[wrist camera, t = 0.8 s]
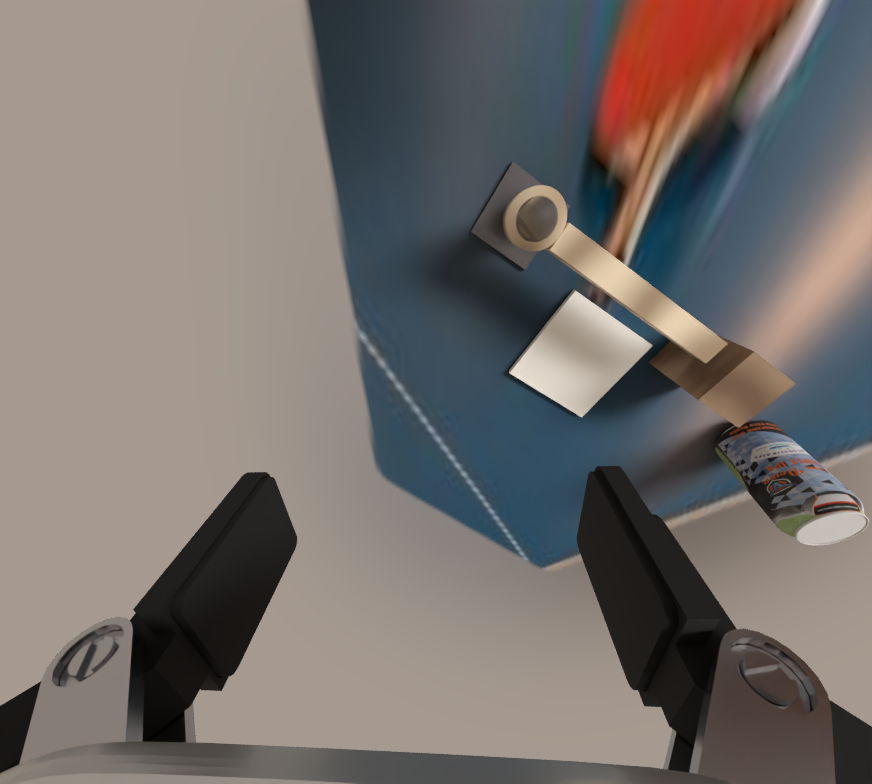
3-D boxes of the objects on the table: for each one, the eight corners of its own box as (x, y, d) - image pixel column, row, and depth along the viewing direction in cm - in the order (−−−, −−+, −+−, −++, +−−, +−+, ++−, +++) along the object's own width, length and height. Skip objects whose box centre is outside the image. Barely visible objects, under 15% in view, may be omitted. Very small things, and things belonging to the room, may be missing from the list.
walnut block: (689, 322, 32) (754, 351, 25) (723, 348, 33) (795, 383, 26) (648, 362, 35) (698, 399, 27) (682, 385, 36) (738, 427, 28)
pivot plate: (512, 162, 27) (512, 161, 27) (569, 206, 28) (570, 206, 28) (470, 231, 30) (470, 231, 29) (524, 269, 31) (525, 269, 31)
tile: (573, 289, 32) (575, 290, 31) (649, 343, 34) (652, 345, 33) (508, 370, 36) (509, 373, 35) (579, 414, 38) (581, 417, 37)
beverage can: (777, 411, 36) (911, 492, 26) (753, 464, 40) (862, 555, 29) (716, 414, 37) (822, 494, 26) (697, 466, 40) (785, 555, 30)
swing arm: (487, 227, 29) (495, 230, 23) (515, 181, 27) (532, 171, 21) (653, 346, 33) (695, 373, 27) (687, 311, 31) (739, 333, 25)
